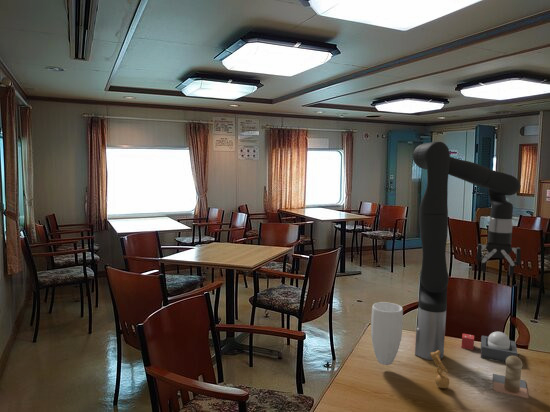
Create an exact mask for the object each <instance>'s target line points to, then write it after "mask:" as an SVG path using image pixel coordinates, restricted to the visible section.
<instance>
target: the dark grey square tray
mask: <svg viewBox="0 0 550 412" xmlns="http://www.w3.org/2000/svg"><path fill="white" fill-rule="evenodd" d="M488 337H489V335H488V336H487V335H481V337H480V358H482V359H485V360H486V359H487V360H492V361H497V362H501V363H505V364H506V359H507V358H508V357H509V356H517V357H518V350H517V349H518V348H517V344H516V341H514V340H510V350H505V349H500V348H494V347H489V346H488Z"/></svg>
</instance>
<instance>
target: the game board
mask: <svg viewBox="0 0 550 412" xmlns="http://www.w3.org/2000/svg"><path fill="white" fill-rule="evenodd" d="M492 385H493V386H492V387H493V392H498V393H501V394H505V395H506V394H507V395H509V396H514V397H519V398H523V399H526V400H529V394H528V389H527V384H526V380H524V379H520V391H519V392H518V393H513V392H510V391H507V390H506V389H505V388H504V385H505V375H500V374H497V373H496V374H495V373H492Z"/></svg>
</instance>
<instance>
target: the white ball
mask: <svg viewBox="0 0 550 412" xmlns="http://www.w3.org/2000/svg"><path fill="white" fill-rule="evenodd" d="M510 341H511V340H510V338H509V337H508V335H507V334H506V333H505V332H502V331H494V332H491V333H490V334H489V335H488V346H489V347H494V348H500V349H505V350H510Z"/></svg>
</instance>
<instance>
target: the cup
mask: <svg viewBox="0 0 550 412" xmlns="http://www.w3.org/2000/svg"><path fill="white" fill-rule="evenodd" d="M403 316H404V308H403V307H402V305H400V304H397V303H393V302H387V301H380V302H379V301H378V302H375V303H373V304H372V307H371V317H370V319H371V320H370V330H371V331H370V333H371V334H370V336H371V342H372V347H373V351H374V355H375V358H376V360H377V362H378V363H379V364H381V365H383V366H390V365H392V364H393V362H394V361H395V359H396V357H397V354H398V352H399V349H400V346H401V341H402V335H403V326H404V321H403V319H404V317H403Z"/></svg>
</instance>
